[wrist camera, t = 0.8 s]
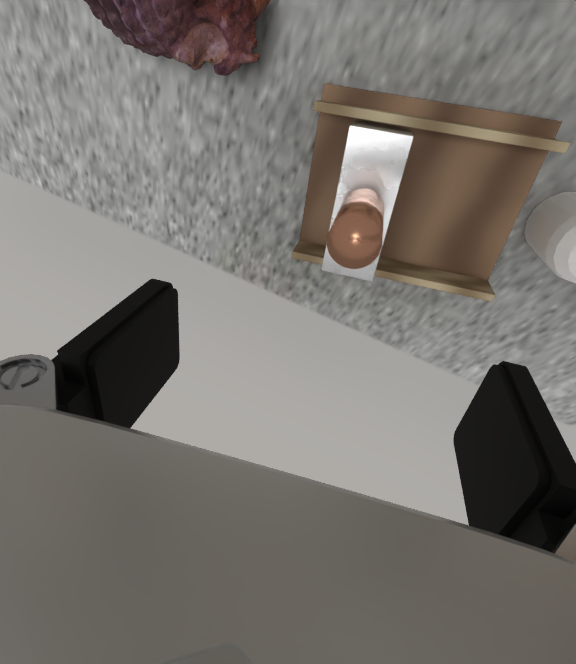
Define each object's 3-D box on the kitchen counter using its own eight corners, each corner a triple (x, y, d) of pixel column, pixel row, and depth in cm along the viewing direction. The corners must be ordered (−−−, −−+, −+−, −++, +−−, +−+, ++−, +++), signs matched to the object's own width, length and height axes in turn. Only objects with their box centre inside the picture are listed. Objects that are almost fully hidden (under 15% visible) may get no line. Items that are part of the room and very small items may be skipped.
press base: (554, 120, 28) (580, 124, 24) (476, 290, 35) (486, 313, 32) (326, 84, 30) (317, 82, 26) (300, 252, 37) (290, 269, 34)
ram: (409, 129, 28) (420, 149, 18) (375, 254, 34) (367, 327, 23) (356, 120, 29) (336, 135, 18) (331, 245, 34) (304, 312, 24)
